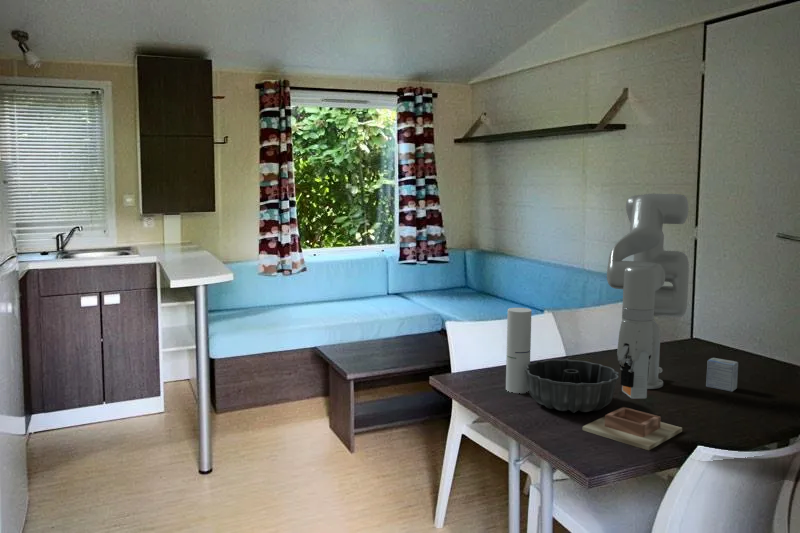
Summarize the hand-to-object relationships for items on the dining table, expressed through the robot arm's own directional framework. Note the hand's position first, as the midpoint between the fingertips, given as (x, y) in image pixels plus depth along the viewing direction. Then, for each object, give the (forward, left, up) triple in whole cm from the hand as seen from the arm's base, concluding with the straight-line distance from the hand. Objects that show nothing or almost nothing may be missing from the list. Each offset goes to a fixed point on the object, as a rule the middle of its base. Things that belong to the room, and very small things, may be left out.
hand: (634, 382), depth 174 cm
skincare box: (0, 0, -3) cm, 3 cm away
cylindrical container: (-6, -41, -13) cm, 44 cm away
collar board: (0, 0, -13) cm, 13 cm away
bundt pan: (-7, -23, -13) cm, 27 cm away
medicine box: (-54, +1, -13) cm, 56 cm away
